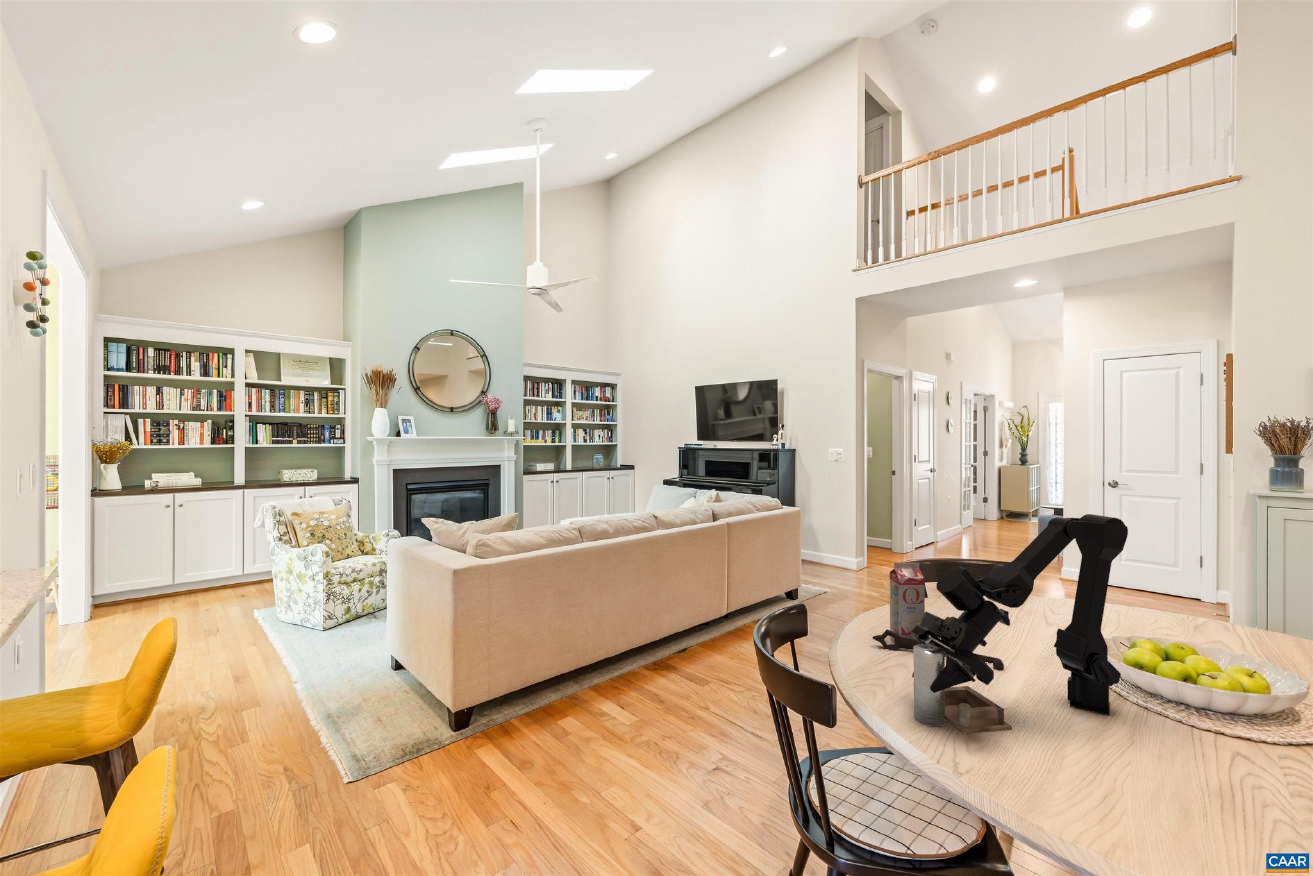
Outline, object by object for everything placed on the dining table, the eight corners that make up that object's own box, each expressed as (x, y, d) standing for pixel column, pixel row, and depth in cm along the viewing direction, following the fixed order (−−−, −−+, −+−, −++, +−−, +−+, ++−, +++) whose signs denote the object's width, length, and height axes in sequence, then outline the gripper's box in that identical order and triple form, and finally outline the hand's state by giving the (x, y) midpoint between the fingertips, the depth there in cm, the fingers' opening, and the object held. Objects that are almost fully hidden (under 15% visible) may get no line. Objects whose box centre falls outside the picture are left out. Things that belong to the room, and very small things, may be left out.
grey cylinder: (933, 711, 118) (933, 643, 118) (951, 725, 112) (950, 653, 112) (908, 714, 117) (907, 645, 117) (924, 727, 111) (924, 655, 111)
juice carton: (925, 648, 152) (924, 565, 152) (899, 648, 153) (898, 565, 153) (914, 639, 159) (914, 559, 159) (890, 639, 159) (889, 560, 159)
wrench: (1003, 680, 137) (870, 650, 151) (1001, 673, 142) (872, 645, 155) (1005, 658, 137) (871, 630, 151) (1003, 652, 142) (874, 626, 156)
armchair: (969, 700, 122) (969, 679, 122) (1012, 729, 110) (1011, 705, 110) (926, 704, 121) (925, 682, 121) (964, 733, 109) (964, 709, 109)
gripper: (919, 586, 124) (871, 641, 123) (979, 613, 106) (923, 677, 104) (953, 621, 125) (906, 675, 124) (1018, 653, 107) (964, 717, 105)
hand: (922, 684), depth 114 cm, fingers closed on grey cylinder, 6 cm apart
